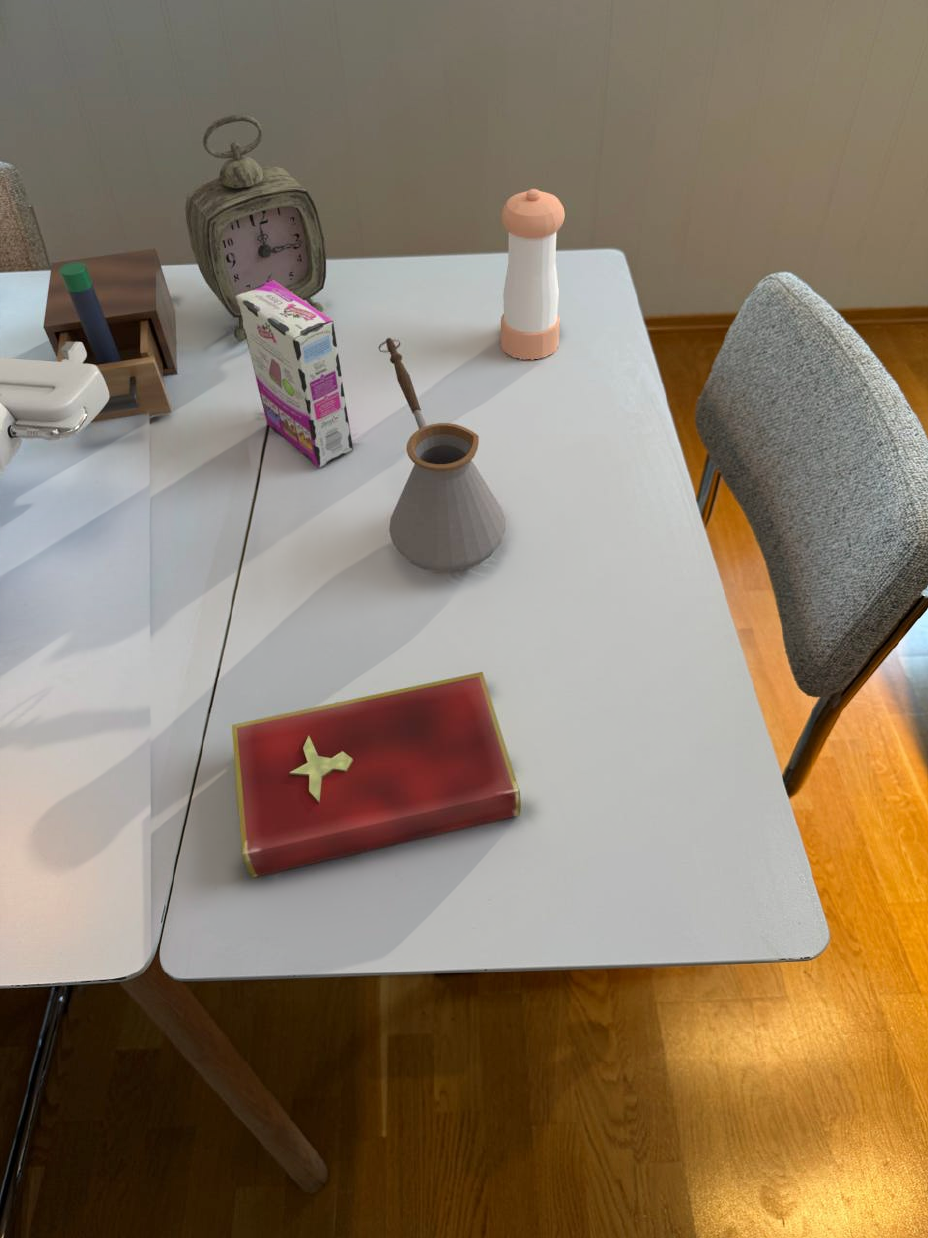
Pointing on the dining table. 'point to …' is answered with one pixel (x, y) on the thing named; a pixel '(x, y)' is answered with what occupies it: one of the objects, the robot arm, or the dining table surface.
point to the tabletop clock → (254, 228)
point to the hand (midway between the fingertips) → (34, 344)
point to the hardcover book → (370, 773)
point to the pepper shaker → (531, 275)
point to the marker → (89, 312)
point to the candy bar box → (297, 371)
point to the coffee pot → (442, 494)
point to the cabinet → (118, 298)
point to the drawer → (128, 370)
